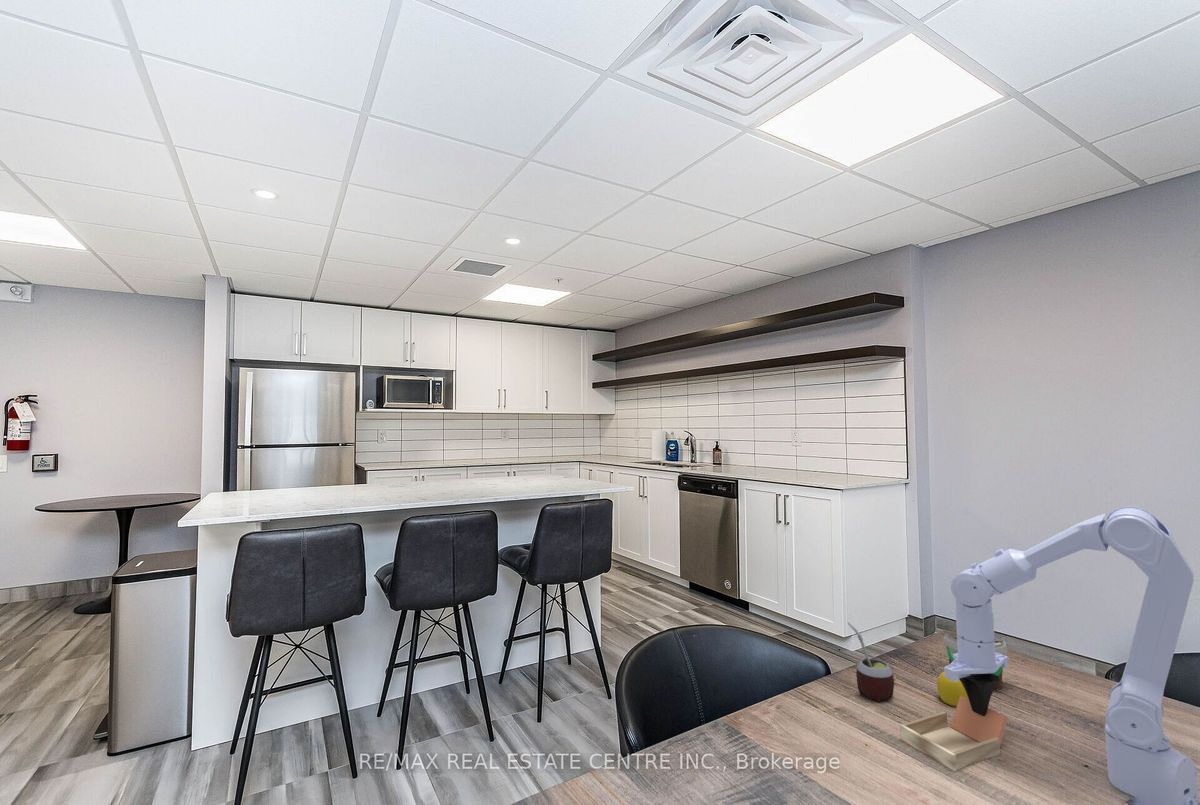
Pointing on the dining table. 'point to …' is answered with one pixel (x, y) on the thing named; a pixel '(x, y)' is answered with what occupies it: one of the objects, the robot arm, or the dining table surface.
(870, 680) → the mate gourd
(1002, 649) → the food container
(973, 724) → the panel
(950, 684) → the lemon
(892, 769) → the dining table surface
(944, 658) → the dining table surface
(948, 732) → the cream shallow tray
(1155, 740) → the robot arm
